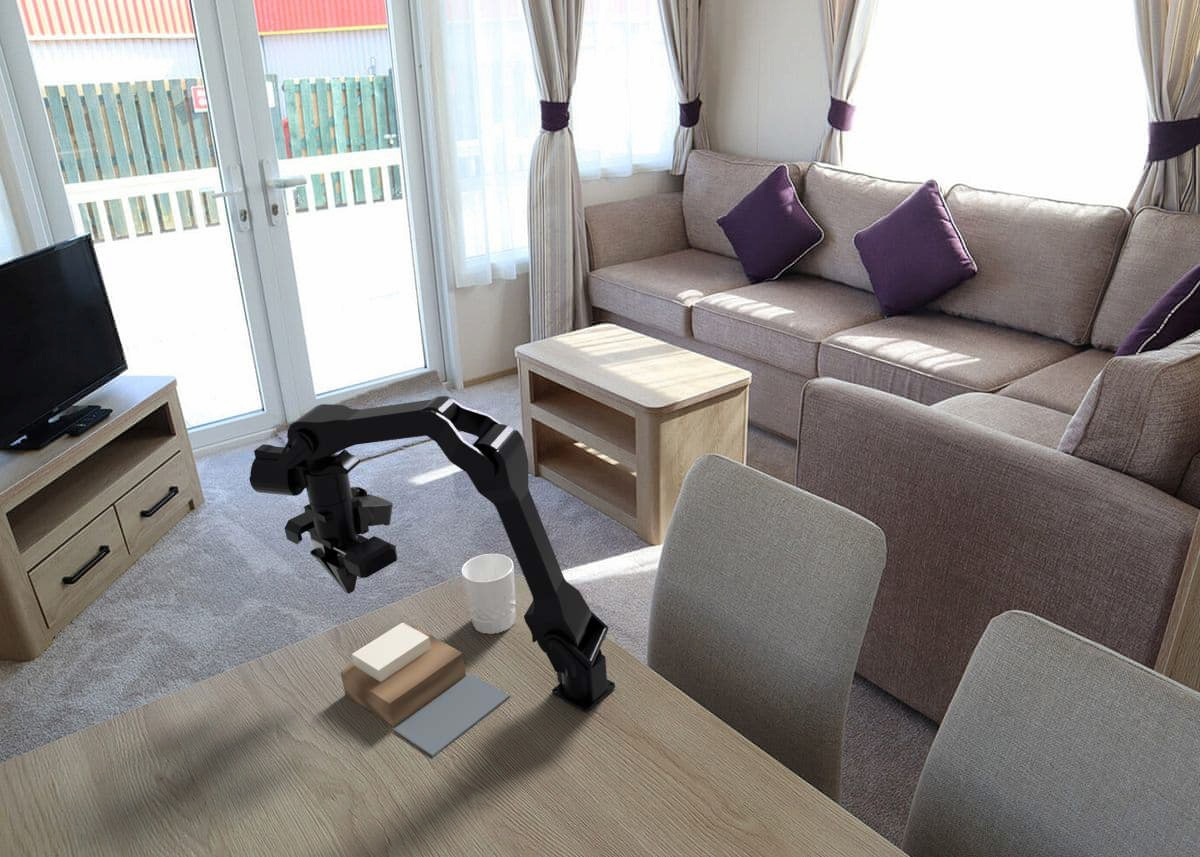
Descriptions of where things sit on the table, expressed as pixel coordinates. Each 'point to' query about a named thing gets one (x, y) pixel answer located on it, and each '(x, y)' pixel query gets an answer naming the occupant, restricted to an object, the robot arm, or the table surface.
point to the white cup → (490, 592)
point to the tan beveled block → (406, 682)
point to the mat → (451, 714)
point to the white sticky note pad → (391, 651)
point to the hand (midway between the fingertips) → (349, 591)
